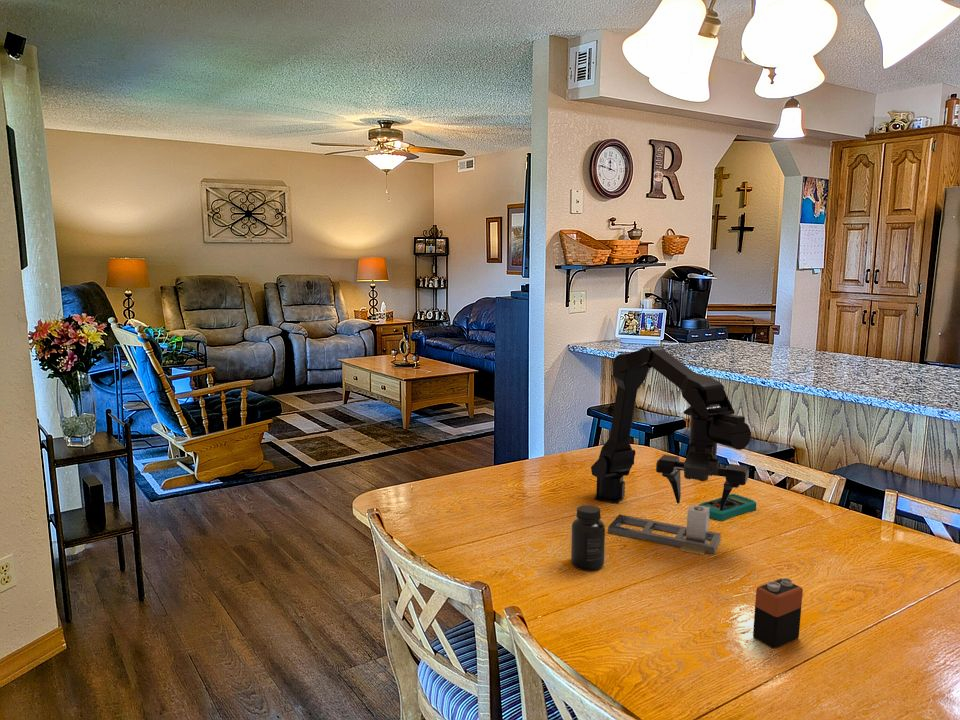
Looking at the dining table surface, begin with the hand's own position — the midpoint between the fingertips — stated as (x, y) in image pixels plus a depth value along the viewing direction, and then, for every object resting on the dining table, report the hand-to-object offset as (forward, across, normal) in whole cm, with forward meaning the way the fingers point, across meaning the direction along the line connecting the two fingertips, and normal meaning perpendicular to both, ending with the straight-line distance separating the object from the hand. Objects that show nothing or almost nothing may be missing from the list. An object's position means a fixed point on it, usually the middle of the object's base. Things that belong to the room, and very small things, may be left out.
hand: (699, 506), depth 151 cm
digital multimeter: (+9, +3, +24) cm, 26 cm away
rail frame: (+8, -8, 0) cm, 11 cm away
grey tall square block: (+8, 0, 0) cm, 9 cm away
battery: (+9, +19, -33) cm, 39 cm away
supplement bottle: (+9, -18, -22) cm, 30 cm away
